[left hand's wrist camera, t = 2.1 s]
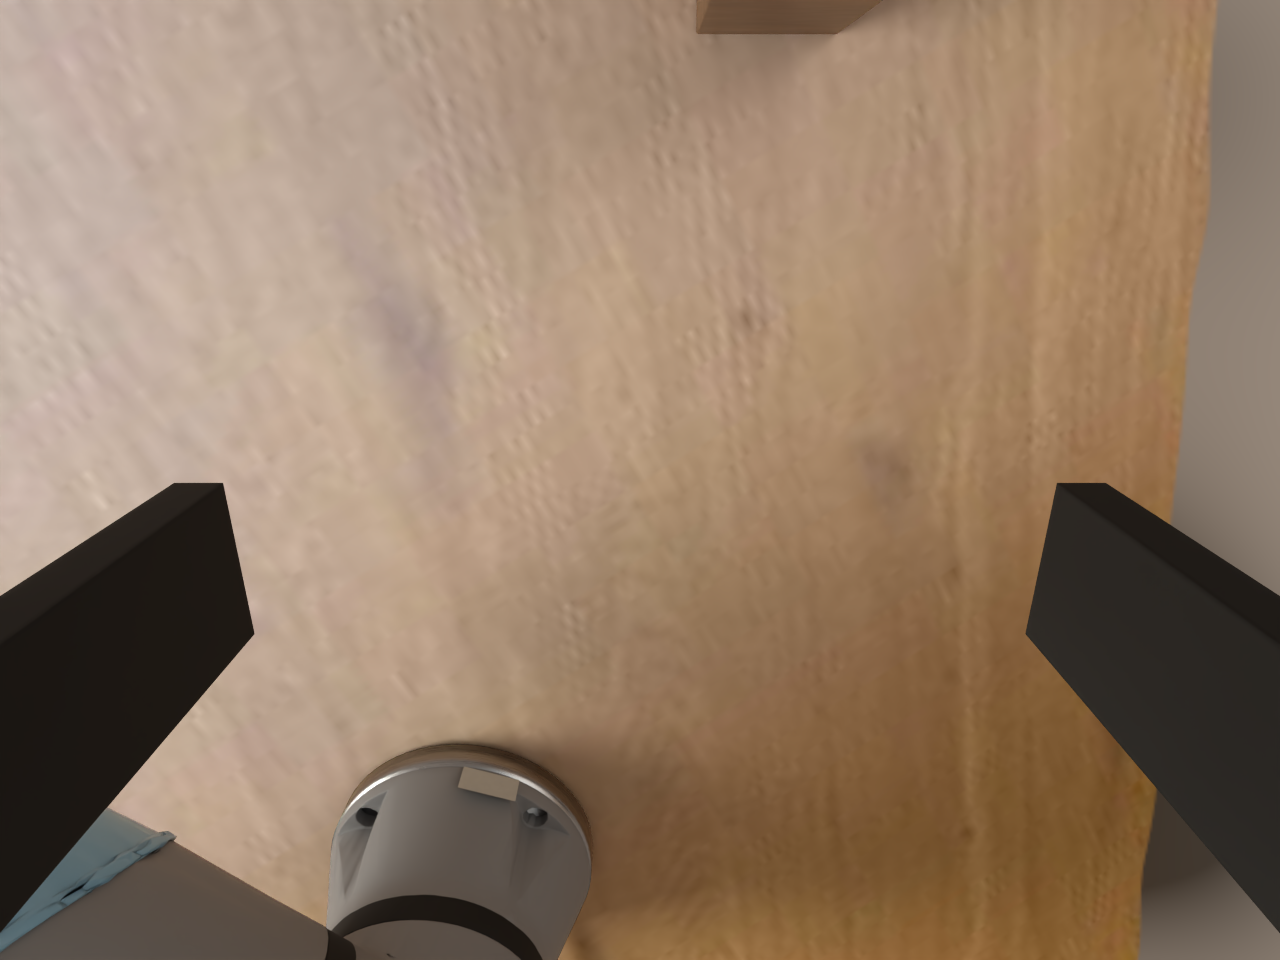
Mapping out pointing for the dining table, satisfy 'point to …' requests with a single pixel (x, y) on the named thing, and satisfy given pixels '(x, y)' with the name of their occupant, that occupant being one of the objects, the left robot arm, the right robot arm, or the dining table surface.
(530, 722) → the dining table surface
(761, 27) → the box
